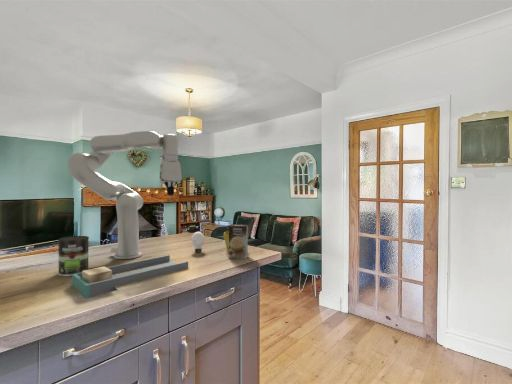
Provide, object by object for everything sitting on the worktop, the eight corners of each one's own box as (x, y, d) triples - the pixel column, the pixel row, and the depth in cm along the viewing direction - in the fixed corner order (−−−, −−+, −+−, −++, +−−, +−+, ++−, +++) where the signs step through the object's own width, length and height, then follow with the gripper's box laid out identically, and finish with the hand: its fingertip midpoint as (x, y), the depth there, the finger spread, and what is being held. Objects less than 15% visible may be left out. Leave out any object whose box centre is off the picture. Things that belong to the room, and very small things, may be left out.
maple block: (104, 278, 97) (104, 266, 97) (112, 283, 93) (112, 270, 93) (82, 283, 92) (82, 270, 92) (89, 288, 87) (89, 275, 87)
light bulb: (203, 253, 140) (203, 232, 140) (190, 253, 140) (190, 232, 140) (205, 250, 147) (205, 230, 147) (192, 250, 147) (192, 230, 146)
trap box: (168, 263, 122) (168, 254, 122) (188, 271, 111) (188, 261, 111) (72, 285, 95) (72, 274, 94) (86, 298, 84) (86, 285, 84)
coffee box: (227, 258, 131) (227, 225, 131) (230, 255, 137) (230, 224, 137) (246, 259, 130) (246, 226, 130) (248, 255, 136) (248, 224, 136)
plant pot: (234, 253, 141) (235, 235, 141) (219, 251, 146) (219, 233, 146) (246, 249, 150) (246, 232, 149) (231, 247, 155) (231, 230, 155)
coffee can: (87, 274, 107) (87, 239, 107) (55, 278, 102) (55, 241, 102) (90, 267, 116) (89, 234, 116) (61, 270, 111) (60, 236, 111)
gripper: (159, 157, 128) (159, 195, 128) (187, 159, 138) (187, 194, 139) (152, 158, 134) (153, 195, 134) (180, 160, 144) (180, 194, 144)
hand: (170, 194), depth 136 cm, fingers closed
